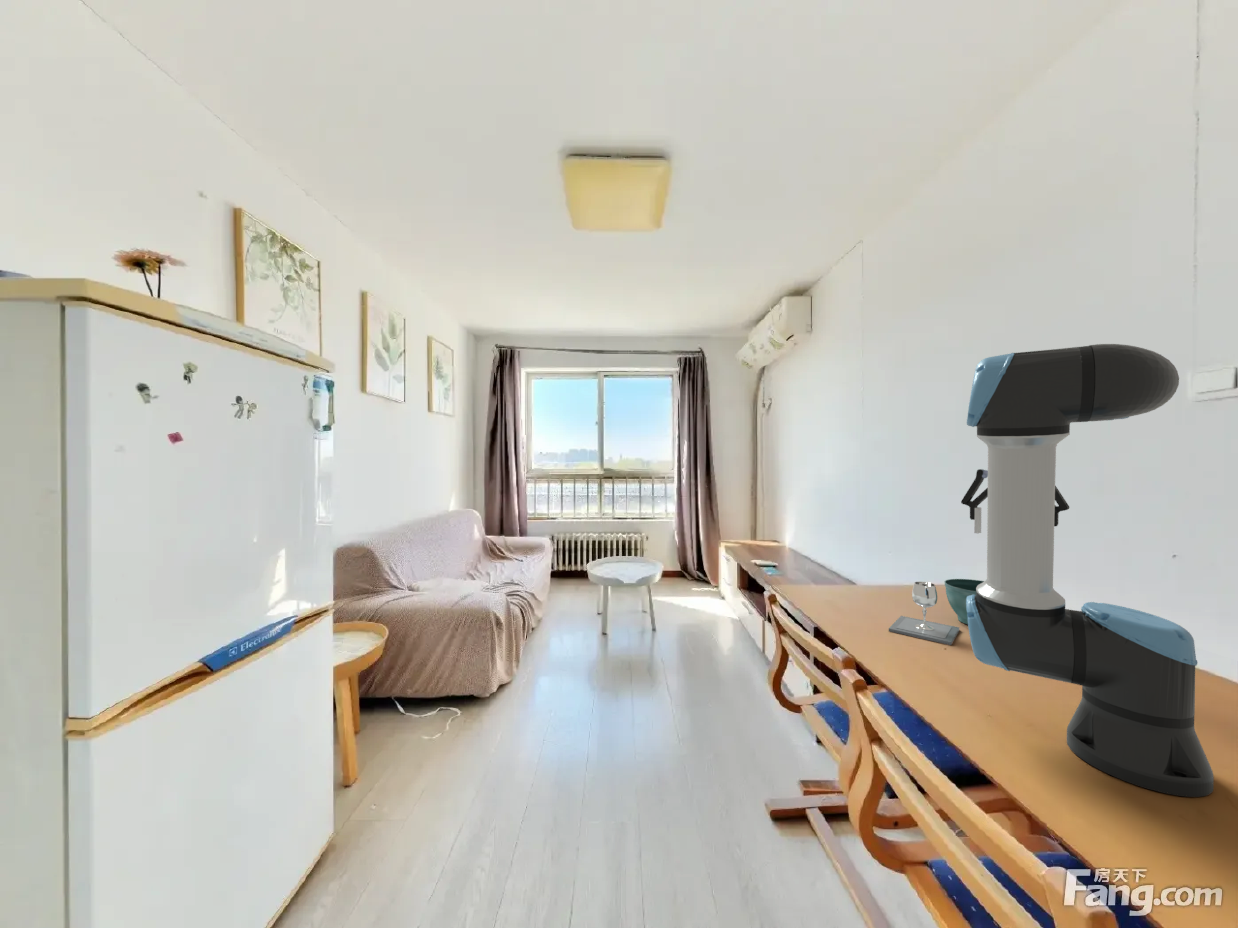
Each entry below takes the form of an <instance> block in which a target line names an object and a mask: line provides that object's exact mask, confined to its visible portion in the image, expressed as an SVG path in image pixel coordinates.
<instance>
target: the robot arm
mask: <svg viewBox="0 0 1238 928" xmlns="http://www.w3.org/2000/svg"><path fill="white" fill-rule="evenodd" d="M974 370H975V371H974V374H973V380H972V386H971V390H970V391H971V392H970V397H969V403H968V410H967V416H966V425H967V427H972V428H975V427H976V437H977V438H978V439H980V441H982V442H983V444H985V445H986V446H987V470H986V469H983V468H981V469H977V470H976V473H975V478H974V480H973V481H972V483H971V485H969V486H970V487H969V488H968V489H967V491H966V492H965V494H964V496H963V498H961V501H960V502H961V504H962V505H965V506H966V507H968V508H969V519H970V520H973V521H974V534H981V533H982V507H980V504H982V503H983V502H984V500H986V499H987V523H986V524H987V526H986V528H987V530H986V531H987V538H986V539H987V542H986V543H987V545H986V546H987V548H986V549H987V550H986V553H987V555H986V579H985V580H983V581H984V582H983V583H981V584H979V585H978V586H977V587H976V595H969V596H967V598H966V610H967V617H968V624H967V627H968V633H969V639H970V643H971V648H972V652H973V655H974V657H975V658H976V659H977V660H978V661H979V662H980V663H982V664H984V665H987V666H992V667H996V668H999V669H1002V670H1004V671H1007V672H1010V671H1011V672H1016V673H1021V674H1026V675H1030V676H1035V677H1040V678H1043V679H1044V678H1045V679H1050V680H1055V681H1057V682H1058V681H1059V682H1063V683H1069V684H1073V685H1078V686H1081V690H1082V691H1081V700H1080V702H1079V703H1078V706H1077V708H1076V710H1075V711H1074V713H1073V715H1072V718H1071V719H1070V721H1069V723H1068V725H1067V727H1066V745H1067V746H1068V748H1069V749H1070V750H1071V751H1072V753H1074V754H1075V755H1076V756H1077V757H1078V758H1080V759H1081V760H1083V761H1084V762H1086V763H1087V764H1089V765H1091V766H1092V767H1094V768H1096V769H1098V770H1100V771H1101V772H1104V773H1105V774H1108V775H1110V776H1112V777H1114V778H1117V779H1118V780H1121V781H1124V782H1126V783H1130V784H1132V785H1134V786H1135V785H1136V786H1139V787H1141V788H1144V789H1148V790H1151V791H1155V792H1159V793H1163V794H1167V795H1173V796H1178V797H1179V796H1180V797H1188V798H1200V797H1206V796H1208V795H1211V794H1212V793H1213V792H1214V773H1213V772H1214V771H1213V769H1212V767H1211V765H1210V763H1209V759H1208V758H1207V756H1206V753H1205V751H1204V748H1203V746H1202V744H1201V741H1200V739H1199V737H1198V735H1197V733H1196V729H1195V713H1196V711H1195V709H1196V705H1195V704H1196V702H1195V701H1196V666H1197V665H1198V660H1197V656H1196V655H1197V654H1196V648H1195V647H1196V646H1195V640H1194V637H1193V636H1192V633H1190V631H1188V630H1187V629H1186V628H1184V627H1183V626H1181V625H1179V624H1178V623H1176V622H1174V621H1171V620H1168V619H1166V618H1164V617H1161V616H1158V615H1154V614H1152V613H1149V612H1145V611H1141V610H1137V609H1134V608H1130V607H1125V606H1122V605H1117V604H1111V603H1106V602H1094V601H1088V602H1085V603H1083V605H1082V606H1081V608H1080V609H1081V610H1073V609H1069V608H1068V609H1067V608H1066V599H1065V598H1064V596H1062V595H1061V594H1060V593H1059V592H1058V591H1056V590H1055V588H1054V557H1055V556H1054V553H1055V552H1054V551H1055V550H1054V549H1055V527H1058V526H1059V514H1060V512H1063V511H1064V512H1065V511H1068V510H1069V509H1070V505H1069V504H1068V502H1067V501H1066V499H1065V497H1064V496H1063V494H1062V493H1061V492H1060V489H1058V487H1057V486H1056V466H1057V465H1056V463H1057V462H1056V461H1057V455H1056V454H1057V446H1058V444H1059V443H1061V442H1062V441H1063V440H1064V439H1066V438H1067V437H1068V436H1070V430H1071V429H1070V428H1071V426H1070V425H1071V424H1072V423H1087V422H1102V421H1113V420H1125V419H1128V418H1130V417H1134V416H1139V415H1143V414H1147V413H1150V412H1152V411H1155V410H1157V409H1158V408H1160V407H1162V406H1164V405H1165V404H1166V403H1168V402H1169V401H1170V400H1171V399H1172V398H1173V397H1174V395H1175V393H1176V392H1177V390H1178V387H1179V384H1180V377H1179V373H1178V370H1177V368H1176V366H1175V365H1174V364H1173V362H1172V361H1170V360H1169V359H1168V358H1167V357H1165V356H1164V355H1162V354H1159V352H1155V351H1153V350H1151V349H1148V348H1143V347H1139V346H1135V345H1130V344H1119V343H1099V344H1098V343H1097V344H1089V345H1086V346H1085V345H1083V346H1074V347H1065V348H1063V347H1062V348H1056V349H1054V348H1053V349H1052V348H1051V349H1043V350H1042V349H1041V350H1031V351H1030V350H1029V351H1022V352H1010V353H1007V354H999V355H994V356H988V357H985V358H983V359H981V360H980V361H979V362H978V363H977V364H976V366H975V369H974ZM985 479H987V488H985V489H984V490H983V491H982V492H981V493H979V495H977V496H976V497H975V498H974V496H975V495H976V493H977V492H978V490H979V488H980V487H981V485H982V484H983V482H984V480H985ZM973 498H974V499H973ZM972 499H973V500H972ZM1055 503H1056V504H1057V505H1055ZM978 506H979V507H978Z"/></svg>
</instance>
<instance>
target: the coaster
mask: <svg viewBox="0 0 1238 928" xmlns="http://www.w3.org/2000/svg"><path fill="white" fill-rule="evenodd" d="M923 620H924V619H920V618H915V617H910V616H905V615H900V616H899V617H898V618H897V619H896V620H895V621H893V623H892V624H891V626H890V627H888V632H890V633H895V634H899V635H902V636H908V637H913V638H918V639H922V640H925V641H931V642H934V643H938V644H939V643H940V644H944V645H949V646H952V644H953V642H954V641H955V640H956V638H957V635H958V634H959V632H960V626H959V627H958V626H956V625H955V626H954V625H949V624H946V623H939V622H936V621H935V622H934V621H930V620H925V621H926V624H927V625H928V626H931V627H933V628H934V630H931V631H928V630H922V629H918V628H916V627H915V625H917V624H923Z"/></svg>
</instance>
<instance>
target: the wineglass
mask: <svg viewBox="0 0 1238 928" xmlns="http://www.w3.org/2000/svg"><path fill="white" fill-rule="evenodd" d="M911 595H912V601H913V602H914V603H915V604H916V605H918V606H919V607H920V608H921V607H922V614H923V619H922V620H923V624H917V625H915V627H916V628H918V629H922V630H928V631H931V630H934V628H933V627H931V626H928V625H927V624H926V621H927V620H926V615H927V612H928V611H927V608H932V607H934V606H936V604H937V602H938V591H937V588H936V585H935V583H932V582H928V581H915V582H914V584H913V586H912V591H911Z"/></svg>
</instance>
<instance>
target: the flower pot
mask: <svg viewBox="0 0 1238 928" xmlns="http://www.w3.org/2000/svg"><path fill="white" fill-rule="evenodd" d="M984 581H985V580H980V579H979V580H978V579H969V578H951V579H945V580H944V586H945V587H944V588H945V594H946V599H947V601H948V604H949V605H950V607H951V609H952V610H953V612H954V613H955V614H956V615H957V620H958V621H959V622H960V623H963V624H966V625H968V617H967V610H966V598H967V596H969V595H976V587H977V586H978V585H979V584H981V583H983V582H984Z"/></svg>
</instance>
